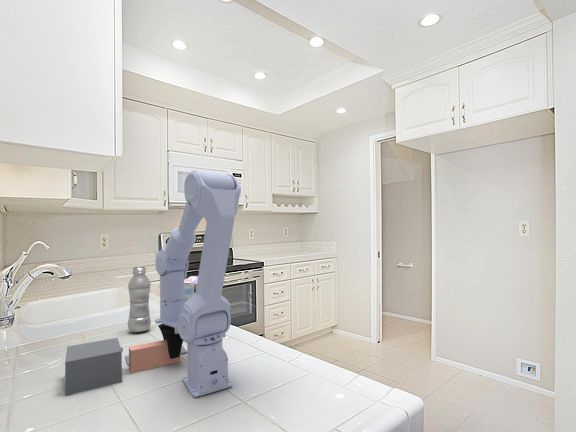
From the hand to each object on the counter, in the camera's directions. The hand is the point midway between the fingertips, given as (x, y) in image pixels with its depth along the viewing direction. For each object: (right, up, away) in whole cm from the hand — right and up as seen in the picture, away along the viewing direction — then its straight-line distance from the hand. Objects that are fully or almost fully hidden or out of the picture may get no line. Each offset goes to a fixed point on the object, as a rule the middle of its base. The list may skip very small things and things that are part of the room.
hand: (172, 355), depth 81 cm
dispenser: (-14, -1, -9) cm, 17 cm away
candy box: (-1, -2, +22) cm, 22 cm away
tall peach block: (-3, -1, -2) cm, 4 cm away
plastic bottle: (-18, -2, +23) cm, 29 cm away
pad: (-5, -2, +4) cm, 7 cm away
